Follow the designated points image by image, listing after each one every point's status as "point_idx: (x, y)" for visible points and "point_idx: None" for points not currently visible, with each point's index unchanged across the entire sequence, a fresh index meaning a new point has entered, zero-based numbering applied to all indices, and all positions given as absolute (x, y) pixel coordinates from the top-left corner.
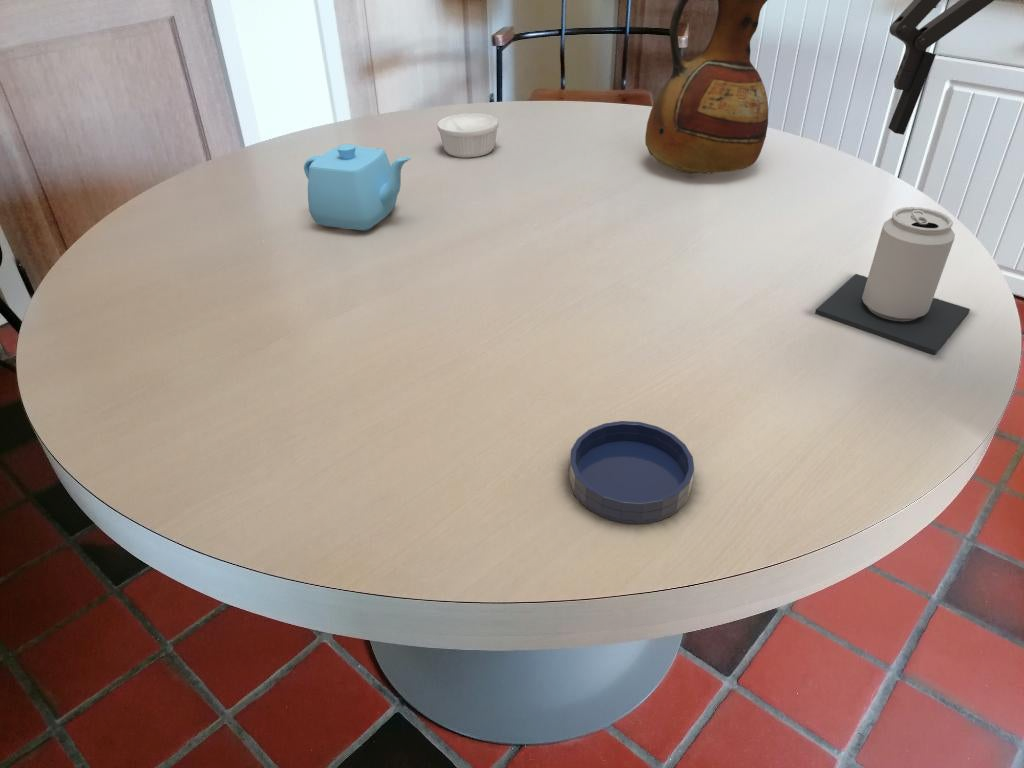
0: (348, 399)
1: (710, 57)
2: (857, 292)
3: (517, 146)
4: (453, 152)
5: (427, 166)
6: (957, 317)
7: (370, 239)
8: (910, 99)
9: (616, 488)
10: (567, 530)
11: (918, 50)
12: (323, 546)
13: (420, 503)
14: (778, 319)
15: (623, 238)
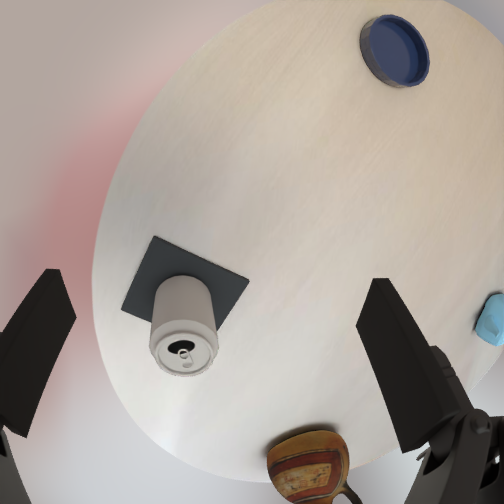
0: (497, 133)
1: (329, 497)
2: None
3: None
4: None
5: None
6: (131, 294)
7: (487, 291)
8: (413, 325)
9: (398, 43)
10: (412, 21)
11: (462, 416)
12: (481, 36)
13: (464, 52)
14: (281, 262)
15: None
